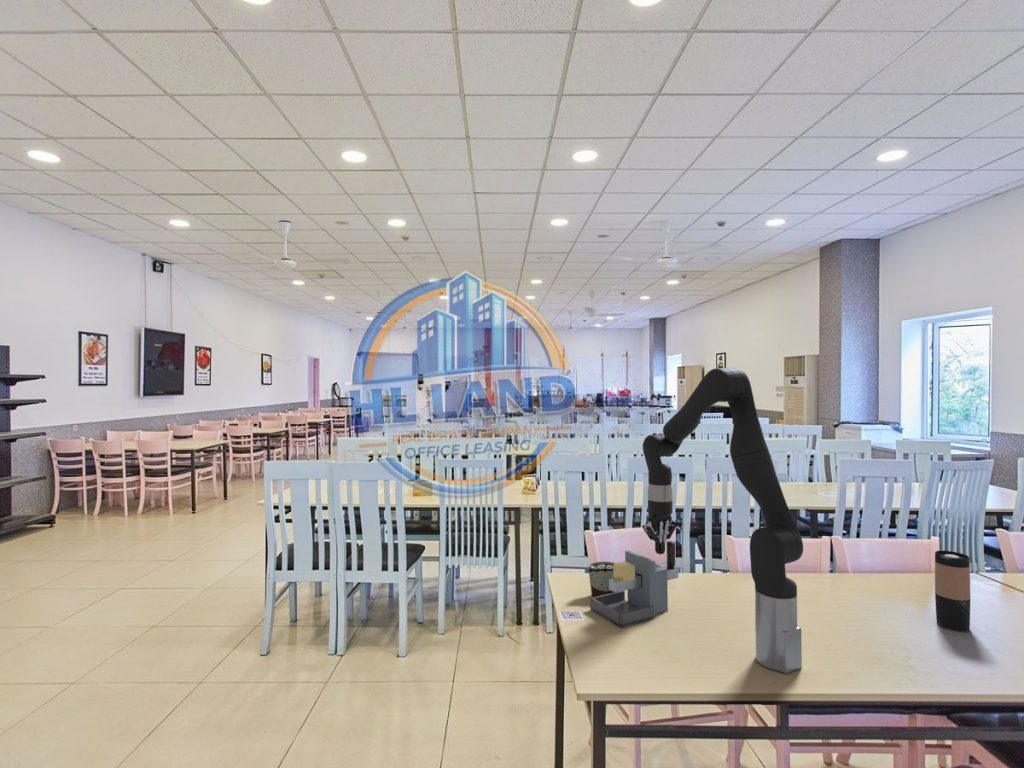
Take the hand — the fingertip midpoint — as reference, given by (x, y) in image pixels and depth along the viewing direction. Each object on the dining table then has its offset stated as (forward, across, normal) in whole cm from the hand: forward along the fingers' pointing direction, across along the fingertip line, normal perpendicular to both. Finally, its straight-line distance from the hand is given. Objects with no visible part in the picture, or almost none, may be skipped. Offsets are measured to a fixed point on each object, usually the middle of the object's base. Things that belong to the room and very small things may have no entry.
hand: (660, 553), depth 165 cm
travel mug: (+16, +60, -51) cm, 81 cm away
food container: (+16, -10, +14) cm, 24 cm away
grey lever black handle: (+8, -7, 0) cm, 10 cm away
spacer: (+5, -14, 0) cm, 15 cm away
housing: (+16, -6, 0) cm, 17 cm away
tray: (+16, -16, 0) cm, 22 cm away
